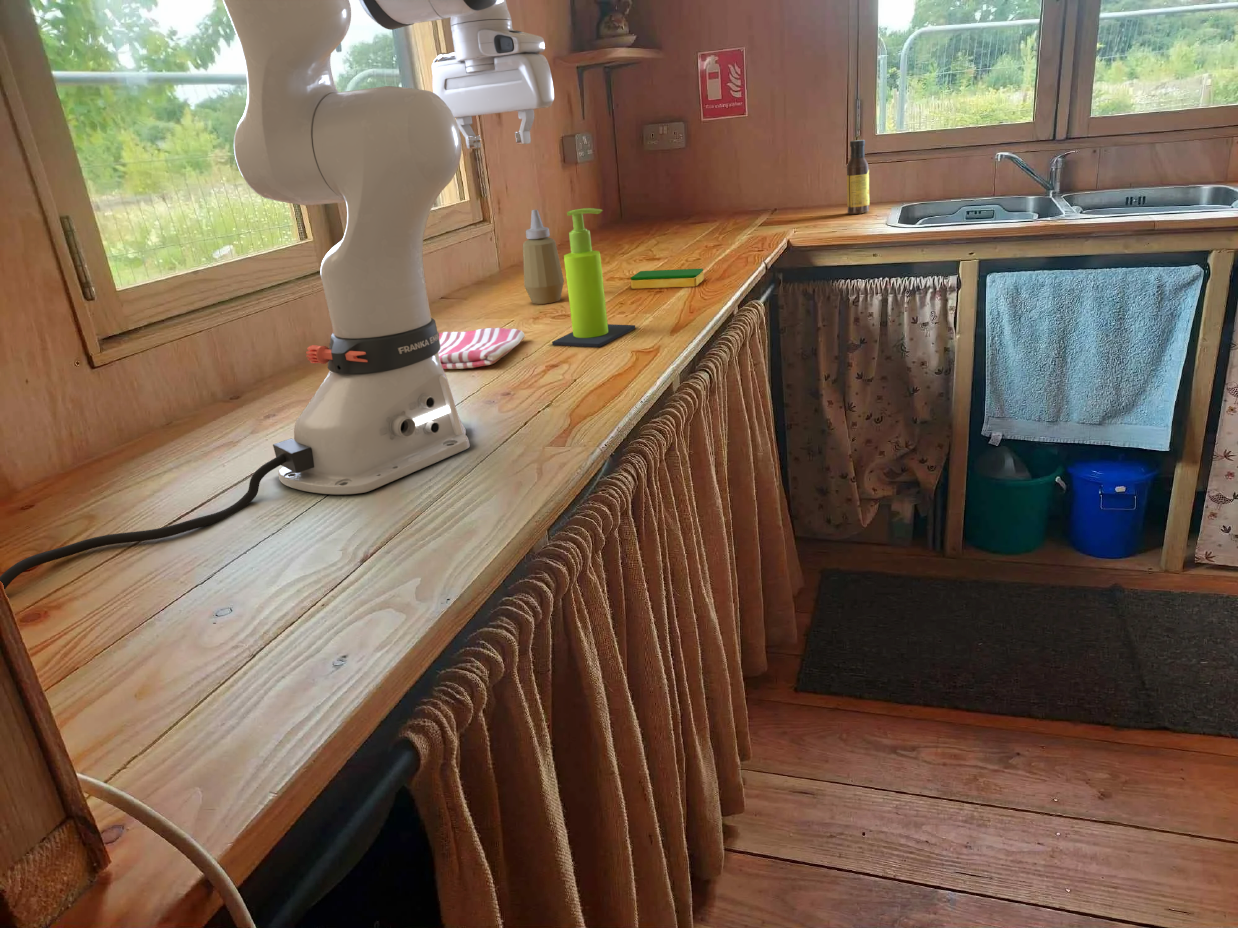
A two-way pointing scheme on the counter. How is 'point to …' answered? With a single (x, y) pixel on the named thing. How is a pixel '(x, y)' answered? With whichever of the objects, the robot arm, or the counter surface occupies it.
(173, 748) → the counter surface
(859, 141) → the sauce bottle
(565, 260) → the soap dispenser
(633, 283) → the dish sponge
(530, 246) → the squeeze bottle
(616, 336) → the mat
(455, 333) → the dish towel
